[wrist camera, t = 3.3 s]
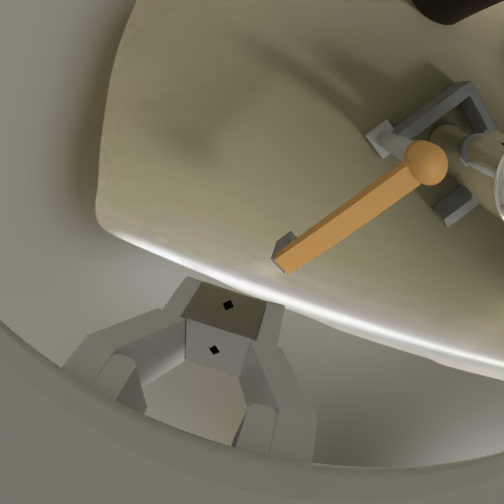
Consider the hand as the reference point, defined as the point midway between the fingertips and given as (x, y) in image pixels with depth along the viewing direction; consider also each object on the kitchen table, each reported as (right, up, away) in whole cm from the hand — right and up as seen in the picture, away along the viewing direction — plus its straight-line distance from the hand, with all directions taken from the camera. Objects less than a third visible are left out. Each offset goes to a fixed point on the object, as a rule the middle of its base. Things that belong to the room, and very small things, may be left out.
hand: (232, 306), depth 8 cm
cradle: (+22, +13, +16) cm, 31 cm away
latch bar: (+8, +6, +12) cm, 16 cm away
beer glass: (+23, +14, +16) cm, 32 cm away
